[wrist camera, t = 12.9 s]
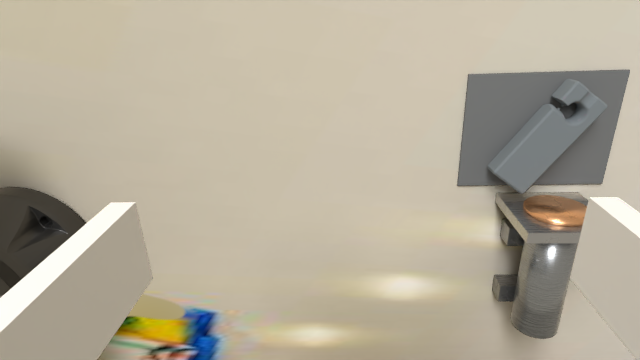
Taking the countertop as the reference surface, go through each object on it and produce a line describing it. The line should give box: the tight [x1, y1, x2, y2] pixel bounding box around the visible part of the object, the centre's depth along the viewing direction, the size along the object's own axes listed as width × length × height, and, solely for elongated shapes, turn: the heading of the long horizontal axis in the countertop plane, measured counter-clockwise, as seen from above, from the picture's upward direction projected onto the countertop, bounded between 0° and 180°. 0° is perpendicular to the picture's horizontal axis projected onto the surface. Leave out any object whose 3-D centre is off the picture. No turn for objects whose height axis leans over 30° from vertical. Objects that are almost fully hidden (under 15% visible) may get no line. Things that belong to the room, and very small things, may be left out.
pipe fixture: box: [492, 192, 588, 339], centre depth 41 cm, size 8×13×8 cm, turn 2°
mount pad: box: [457, 70, 630, 186], centre depth 40 cm, size 14×11×1 cm
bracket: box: [488, 79, 607, 194], centre depth 38 cm, size 4×10×2 cm, turn 145°
